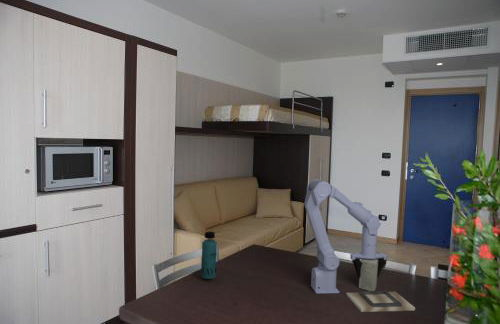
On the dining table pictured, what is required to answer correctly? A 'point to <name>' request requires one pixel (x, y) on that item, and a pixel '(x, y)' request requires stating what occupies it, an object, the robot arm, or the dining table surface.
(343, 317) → the dining table surface
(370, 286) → the skincare box
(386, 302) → the socket board
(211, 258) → the beverage bottle
